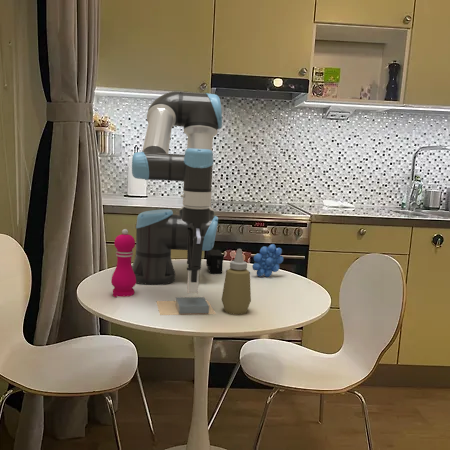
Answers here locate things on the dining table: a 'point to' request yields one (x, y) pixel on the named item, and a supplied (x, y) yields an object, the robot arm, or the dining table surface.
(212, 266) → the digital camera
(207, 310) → the tile
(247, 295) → the squeeze bottle
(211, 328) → the dining table surface
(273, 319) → the dining table surface
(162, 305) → the mat
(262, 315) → the dining table surface
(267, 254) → the grapes
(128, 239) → the pepper mill
